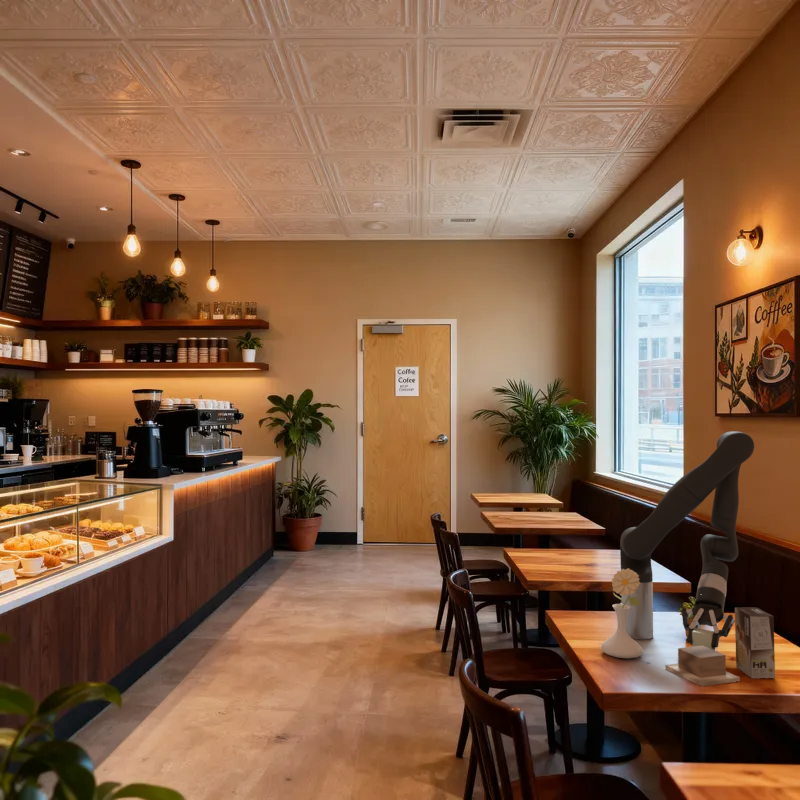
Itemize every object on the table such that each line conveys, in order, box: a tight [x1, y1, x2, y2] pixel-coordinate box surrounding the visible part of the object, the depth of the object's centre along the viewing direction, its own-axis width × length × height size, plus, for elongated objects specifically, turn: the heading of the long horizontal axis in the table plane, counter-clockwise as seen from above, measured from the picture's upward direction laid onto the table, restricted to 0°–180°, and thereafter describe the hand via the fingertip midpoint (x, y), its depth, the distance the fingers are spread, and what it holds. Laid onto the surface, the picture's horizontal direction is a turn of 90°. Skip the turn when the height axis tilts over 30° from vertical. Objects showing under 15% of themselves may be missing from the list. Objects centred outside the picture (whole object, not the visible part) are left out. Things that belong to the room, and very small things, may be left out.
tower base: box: [665, 646, 741, 687], centre depth 173 cm, size 13×12×6 cm
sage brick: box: [691, 628, 716, 651], centre depth 184 cm, size 5×4×8 cm
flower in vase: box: [600, 569, 644, 659], centre depth 188 cm, size 13×11×25 cm
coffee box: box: [734, 606, 776, 680], centre depth 175 cm, size 9×6×16 cm
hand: (702, 645), depth 183 cm, fingers closed on sage brick, 5 cm apart
